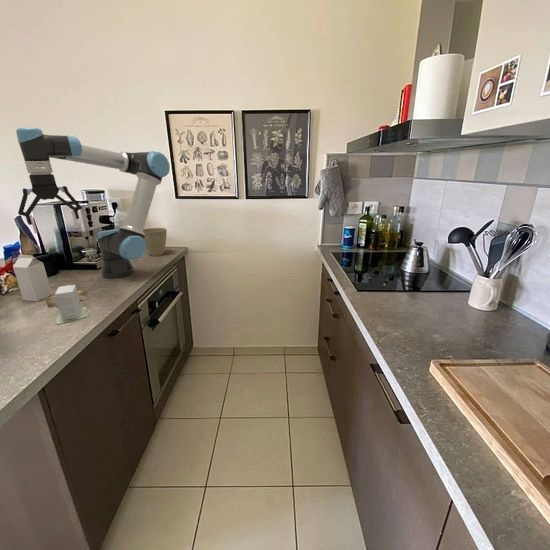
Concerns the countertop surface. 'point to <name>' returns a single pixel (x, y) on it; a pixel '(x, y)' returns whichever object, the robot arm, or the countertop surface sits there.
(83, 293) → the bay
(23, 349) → the countertop surface
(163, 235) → the plant pot
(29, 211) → the robot arm
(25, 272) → the milk carton
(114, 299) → the countertop surface
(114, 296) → the countertop surface
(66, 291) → the small box
